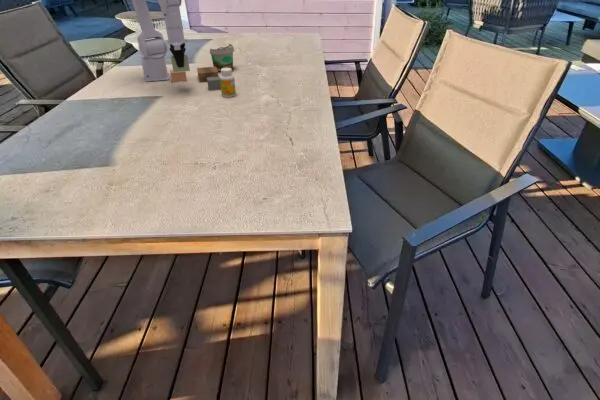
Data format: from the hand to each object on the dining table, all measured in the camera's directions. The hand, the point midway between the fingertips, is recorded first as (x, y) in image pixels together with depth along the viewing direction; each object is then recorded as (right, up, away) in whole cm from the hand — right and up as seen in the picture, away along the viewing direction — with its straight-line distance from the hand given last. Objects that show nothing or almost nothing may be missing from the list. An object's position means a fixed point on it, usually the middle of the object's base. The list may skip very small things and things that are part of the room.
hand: (180, 65), depth 144 cm
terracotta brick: (-5, -1, +15) cm, 16 cm away
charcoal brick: (+12, -7, +7) cm, 15 cm away
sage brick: (0, -1, +1) cm, 2 cm away
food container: (+12, +7, +27) cm, 31 cm away
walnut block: (+6, 0, +17) cm, 18 cm away
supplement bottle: (+18, -11, +1) cm, 21 cm away
